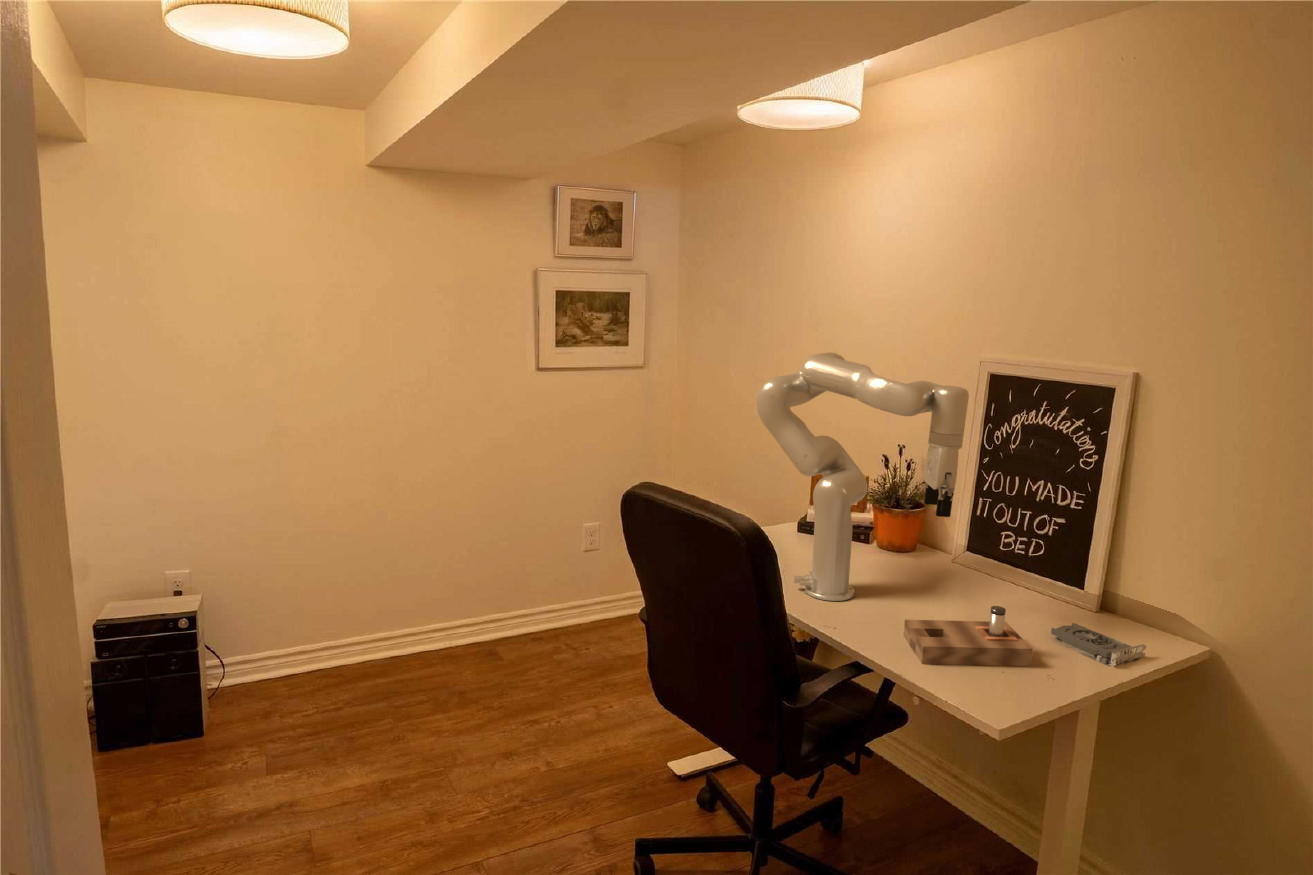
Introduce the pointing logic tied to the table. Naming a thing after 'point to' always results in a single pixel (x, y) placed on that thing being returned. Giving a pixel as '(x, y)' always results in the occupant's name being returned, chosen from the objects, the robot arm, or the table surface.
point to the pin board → (965, 643)
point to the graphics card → (1098, 645)
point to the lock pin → (996, 621)
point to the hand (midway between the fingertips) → (936, 510)
